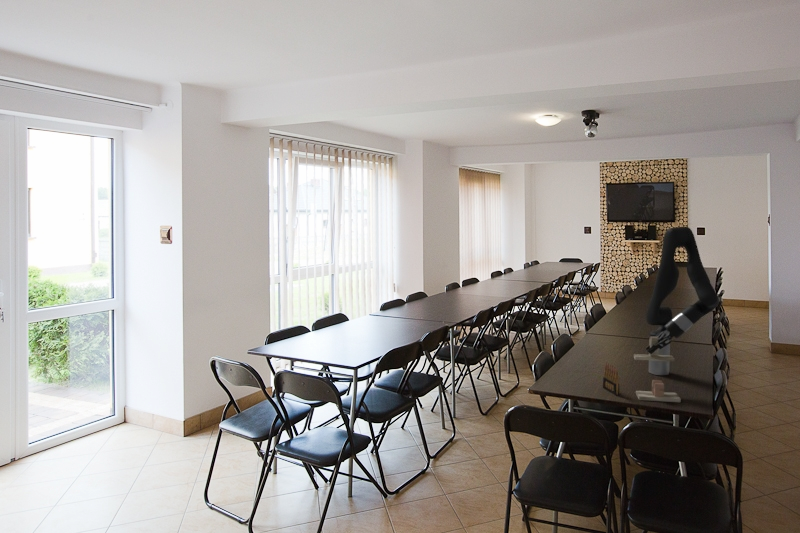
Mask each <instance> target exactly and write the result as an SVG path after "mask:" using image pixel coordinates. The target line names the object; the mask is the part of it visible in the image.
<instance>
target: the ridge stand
mask: <svg viewBox="0 0 800 533" xmlns="http://www.w3.org/2000/svg"><path fill="white" fill-rule="evenodd" d="M635 394H636V397H637V398H638V400H639V401H650V402H651V401H652V402H653V401H654V402H666V403H667V402H668V403H681V400H682V399H681V397H680V396H679V395H678V394H677V392H668V391H667V392H666V391H665V383H663V381H662V380H661V379H651V390H650V391H649V390H648V391H647V390H646V391H645V390H635Z"/></svg>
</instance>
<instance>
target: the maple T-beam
mask: <svg viewBox="0 0 800 533" xmlns="http://www.w3.org/2000/svg"><path fill="white" fill-rule="evenodd" d="M658 339H659V338H658V337H650V347H652V346H653V345H654V344H655V343H656V342H657V340H658ZM658 350H659V349H657V350H656V351H654V352H653V353H652V354H649V353H648V354H639V353H637V354H636V353H633V358H634V360H635V361H649V360H652V361H669V362H675V357H674V356H673V355H670V356H667V355H658Z"/></svg>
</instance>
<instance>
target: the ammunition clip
mask: <svg viewBox="0 0 800 533" xmlns="http://www.w3.org/2000/svg"><path fill="white" fill-rule="evenodd" d="M619 381H620V379H619V369H618V367H616V366H614V365H611V364H609V363H607V362H605V364H604V371H603V379H602V389H603V390H606V391H607V392H609V393H611V394H613V395H614V396H619V395H620V382H619Z"/></svg>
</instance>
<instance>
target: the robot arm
mask: <svg viewBox="0 0 800 533" xmlns="http://www.w3.org/2000/svg"><path fill="white" fill-rule="evenodd" d="M678 248H684V250H685V252H686V254H687V263H686V273H687V276H688V278H689V281H690V283H691V285H692V287H693V288H694V290H695V293H696V295H697V297H698V300H697V301H696V302H695V303H693V304H690V305H688V306H687V307H686V308H684V309H683V310H682V311H681V312H679V313H678V314H676V315H675V316H674V317H673V312H672V309H671V308H670V307H669V306H662V303H663V302H664V301H665V299H666V298H668V296H669V295H670V294H672V293H673V291H674V290H675V289H676V288H677V285H678V281H679V277H680V271H679V268H678V265H677V263H676V260H675V257H676V256H675V255H676V250H677V249H678ZM660 255H661V257H660V261H659V266H658V270H657V273H656V278H655V282H654V283H655V284H654V287H653V291H652V293H651V298H650V301H649V303H648V306H647V310H646V314H645V319H646V322H647V324H648V325H650V326H658V328H657V329H655V330H651V331H650V332H649V337H648V338H649V340H648V342H649V343H648V345H647V346H646V347H645V350H646V351H647V352H648V355H649V354H652V353H653V352H654V351H656V350H657V349H659V350H658V355H667V356H671V354H670V353H671V343H672V341H671V340H672V339H673V338H675V339H679V338H680V337H681V336H683V335H684V334H685V333H686V332H687V331H689V329H691V327H693V325H695V324H696V323H697V322H698V321H699V320H701V319H702V318H703V317H704V316H706V315H707V314H709V313H711V312H712V311H713V310H715V309H716V308H717V307H718V306H719V304H720V299H719V295H717V292H716V290H715V288H714V287H713V284H712V283H711V281H710V277H709V275H708V272H707V271H706V269H705V267H704V265H703V263H702V260H701V256H700V252H699V248H698V244H697V241H696V238H695V234H694V233H693V230H692V229H691V228H690V227H688V226H677V227H669V228H668V229H666V231H665V232H664V235H663V240H662V250H661V254H660ZM650 337H658V338H659V339H658V340H657V342H656V343H655V344H654V345H653V346H652V347H650ZM648 373H649V374H651V375H656V376H668V375H669V374H670V361H652V360H648Z"/></svg>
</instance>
